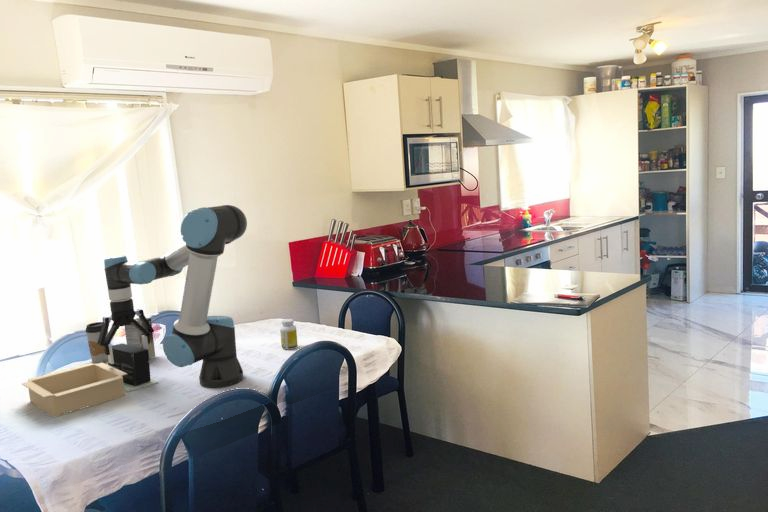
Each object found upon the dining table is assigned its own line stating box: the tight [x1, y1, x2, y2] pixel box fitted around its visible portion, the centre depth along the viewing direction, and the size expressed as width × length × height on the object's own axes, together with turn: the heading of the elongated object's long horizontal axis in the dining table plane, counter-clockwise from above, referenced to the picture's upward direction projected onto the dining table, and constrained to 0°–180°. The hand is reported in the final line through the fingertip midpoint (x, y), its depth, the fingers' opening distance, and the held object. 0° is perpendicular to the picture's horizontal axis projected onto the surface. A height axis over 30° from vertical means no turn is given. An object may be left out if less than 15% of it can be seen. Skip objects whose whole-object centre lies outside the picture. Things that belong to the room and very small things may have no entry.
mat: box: [123, 378, 159, 393], centre depth 231 cm, size 21×11×1 cm, turn 46°
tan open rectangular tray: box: [21, 362, 127, 418], centre depth 216 cm, size 26×27×7 cm
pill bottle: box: [279, 318, 299, 350], centre depth 262 cm, size 6×6×12 cm
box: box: [107, 343, 152, 386], centre depth 231 cm, size 17×7×12 cm, turn 53°
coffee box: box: [124, 317, 156, 360], centre depth 255 cm, size 9×6×16 cm
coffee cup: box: [85, 321, 109, 364], centre depth 256 cm, size 8×8×15 cm
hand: (129, 358), depth 230 cm, fingers open, 12 cm apart
